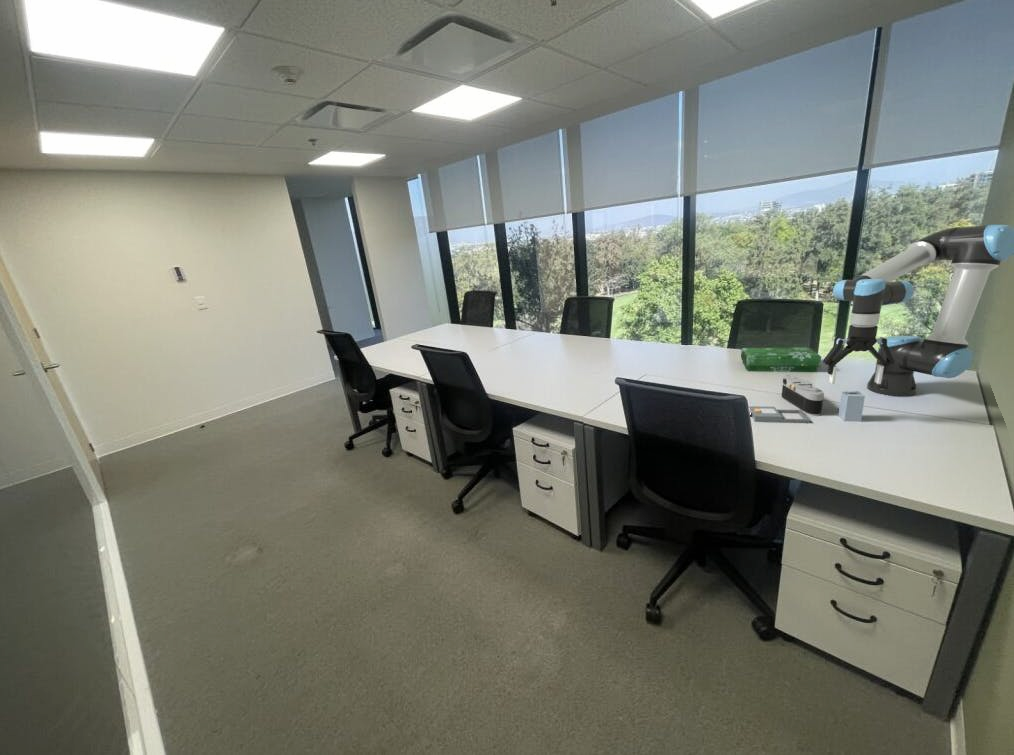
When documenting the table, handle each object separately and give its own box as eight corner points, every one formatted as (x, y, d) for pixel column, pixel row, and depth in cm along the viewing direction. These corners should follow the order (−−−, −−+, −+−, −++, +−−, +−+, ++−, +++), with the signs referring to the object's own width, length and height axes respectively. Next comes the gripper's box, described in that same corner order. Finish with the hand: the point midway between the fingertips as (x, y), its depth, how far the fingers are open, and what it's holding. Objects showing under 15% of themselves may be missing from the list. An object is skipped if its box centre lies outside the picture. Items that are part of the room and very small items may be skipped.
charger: (854, 416, 152) (858, 390, 149) (860, 421, 148) (865, 395, 145) (838, 415, 154) (841, 390, 151) (844, 421, 149) (848, 395, 146)
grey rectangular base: (800, 412, 160) (801, 405, 159) (809, 423, 151) (810, 415, 150) (740, 411, 167) (740, 404, 166) (745, 421, 158) (746, 414, 157)
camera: (834, 415, 155) (837, 390, 152) (807, 416, 156) (809, 392, 153) (799, 395, 176) (802, 373, 173) (776, 396, 177) (778, 375, 174)
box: (745, 375, 207) (746, 356, 204) (739, 364, 223) (741, 347, 220) (820, 375, 195) (822, 355, 192) (808, 364, 211) (810, 346, 208)
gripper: (902, 321, 140) (891, 379, 146) (816, 324, 148) (809, 379, 154) (915, 325, 133) (903, 386, 139) (825, 328, 141) (817, 385, 147)
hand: (854, 382), depth 147 cm, fingers open, 13 cm apart
